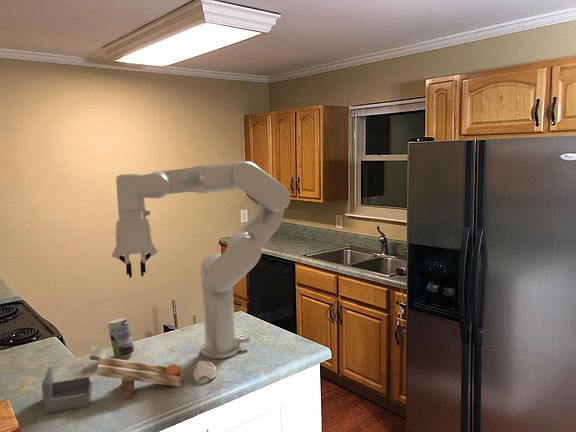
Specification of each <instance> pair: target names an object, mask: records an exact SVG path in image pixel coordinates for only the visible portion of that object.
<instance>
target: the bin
mask: <svg viewBox="0 0 576 432" xmlns="http://www.w3.org/2000/svg"><path fill="white" fill-rule="evenodd" d="M53 378H54V377H53V370H52V366H48V368H47V370H46V373H45V376H44V378H43V380H42V382H41V383H42V384H41V390H42V391H41V393H42V400H43V409H44V415H45V416H47V415H46V414H48V415H53V414H59V413H65V412H70V411H75V409H76V410H80V409H86V408H90V406H91V400H92V394H93V388H94V386H93V381H92V380H91V381H90V379H91V378H90V376H84V377H77V378H72V379H64V380H59V381H58V380H57V381H53ZM69 410H70V411H69Z"/></svg>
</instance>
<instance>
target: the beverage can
mask: <svg viewBox="0 0 576 432" xmlns="http://www.w3.org/2000/svg"><path fill="white" fill-rule="evenodd" d="M107 328H108V332H109V337H110V342H111V347H112V348H111V349H112V351H113V356H114V357H115V358H116V359H122V358H126V357H129V356H131V355H132V354H133V352H134V351H135V350H134V349H135V348H134V345H133V339H132V338H133V337H132V333H131V329H130V324H129V321H128V320H127V318H126V317H120V318H115V319H112V320H110V321H109V324H108V327H107Z"/></svg>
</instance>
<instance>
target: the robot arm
mask: <svg viewBox="0 0 576 432" xmlns="http://www.w3.org/2000/svg"><path fill="white" fill-rule="evenodd" d="M115 181H116V182H115V184H116V185H115V186H116V195H117V196H116V199H117V209H118V211H117V212H118V220H116V224H115V247H114V250H113V252H112V254H111V257H113V258H115V259H117V260H120V261H121V262H123V264H125V269H126V275H128V277H129V278H132V277H133V272H132V270H133V269H132V263H131V261H130V255H135V254H140V258H141V259H140V263H139V264H140V276H141V277H144V275H145V274H146V272H147V271H146V268H147V267H146V262H147V261H148V260H149V259H150V258H151V257H152V256H154V255H157V253H158V250H157V248H156V247H155V244H154V243H153V241H152V240H153V239H152V233H151V230H152V229H151V225H150V224H151V223H150V222H149V218H146V217H149V216H151V210H146V205H145V199H162V198H163V197H165V196H166V195H173V194H181V193H183V194H184V193H197V194H209V193H218V192H224V191H225V192H226V191H233V190H241V191H243V192H244V193H245V194H246V195H247V196H249V197H251V198H252V199H254V200H255V201H257V203H259V204H258V209H257V211H256V212H255V214H254V215H253V216H252V217H251V218H250V219H249V220H248V222H246V223H245V224H244V225H243V226H241V228H240V229H238V230H237V232H235V233H234V234H232V235H231V237H230V238H229V239H228V241H227V248H226V249H225V250H224V252H222V253H212V254H210V255H208V256H207V257H205V258H204V260H203V261H202V264H201V266H200V277H201V279H200V280H201V290H202V304H203V305H202V306H203V307H202V308H203V311H202V312H203V323H204V324H203V325H204V326H203V327H204V328H203V329H204V344H203V345H202V346H201V347H200V354H201V355H202V357H205V358H207V359H215V360H217V359H227V358H230V357H233V356H235V355H237V354H238V353H239V352H240V350H241V344H246V343H250V340H251V339H250V336H245V335H244V334H242V335H241V334H240V335H236V334H235V313H234V312H235V311H234V309H235V307H234V290H233V289H234V288H233V287H234V286H235V285H236V284H237V283H238V282H240V280H242V279H243V278H244V277H245V276H246V275H247V274H248V273H249V272H250V271H251V270H253V268H254V267H255V266H256V265H257V264H258V262H259V261H260V259H261V256H262V252H263V251H262V247H263V246H264V244H265V243H266V242H267V241H268V240H270V238H271V237H272V236H273V235H274V234H275V233H276V232H277V230H278V229H279V227H280V226H281V224H282V221H283V218H284V213H285V210H286V209H287V208H288V206H289V205H290V202H291V194H290V191H289V190H288V188H287V187H286V186H285V185H284V184H282V183H281V182H279V180H276V179H275V178H274V177H272V175H270V174H268V173H267V172H266V171H264V170H263V169H262V168H260V167H259V166H258V165H256V164H255V163H253V162H252V161H249V160H248V161H247V160H239V161H231V162H221V163H214V164H203V165H196V166H192V167H187V168H185V167H184V168H179V169H168V170H162V171H161V170H160V171H154V172H151V173H147V174H146V173H145V174H140V173H139V174H138V173H122V174H118V175H117V176H116V178H115Z"/></svg>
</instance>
